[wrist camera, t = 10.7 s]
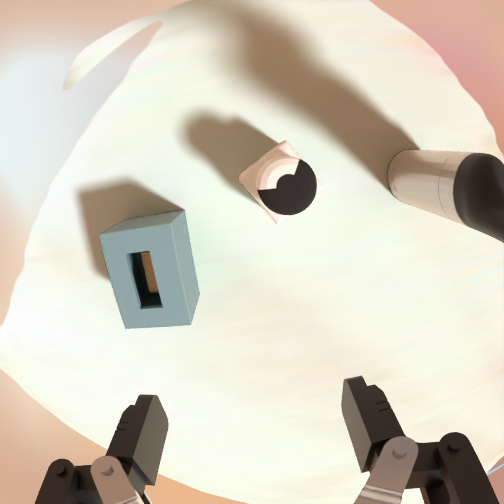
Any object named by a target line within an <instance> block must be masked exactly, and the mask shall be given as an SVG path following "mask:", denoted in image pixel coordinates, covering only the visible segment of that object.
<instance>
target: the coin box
mask: <svg viewBox="0 0 504 504" xmlns="http://www.w3.org/2000/svg"><path fill="white" fill-rule="evenodd" d="M99 237H100V241H101V246H102V250H103V254H104V258H105V262H106V266H107V270H108V274H109V277H110V281H111V284H112V288H113V291H114V295H115V298H116V301H117V305H118V308H119V311H120V314H121V317H122V320H123V323H124V326H125V329H130V328H151V327H168V326H183V325H191V323H192V319H193V316H194V312H195V309H196V305H197V302H198V298H199V295H200V293H199V288H198V283H197V277H196V272H195V267H194V261H193V256H192V250H191V244H190V239H189V233H188V227H187V221H186V214H185V210H181V211H174V212H167V213H161V214H154V215H148V216H142V217H136V218H130V219H125V220H123V221H122V222H120V223H118V224H116V225H115V226H113V227H111V228H110V229H108V230H106V231H104V232H103V233H101V234H99ZM143 251H150V256H151V260H152V265H153V269H154V273H155V278H156V282H157V286H158V290H159V292H151V293H150V292H149V288H148V283H147V279H146V275H145V270H144V266H143V261H142V256H141V252H143Z"/></svg>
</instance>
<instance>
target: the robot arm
mask: <svg viewBox="0 0 504 504" xmlns="http://www.w3.org/2000/svg"><path fill="white" fill-rule="evenodd" d="M388 184H389V187H390V190H391V192H392V194H393V195H394V196H395V197H396V198H397V199H398V200H399V201H401V202H403V203H405V204H408V205H411V206H414V207H417V208H420V209H422V210H425V211H428V212H431V213H434V214H437V215H439V216H442V217H445V218H447V219H450V220H453V221H455V222H458V223H461V224H463V225H466V226H468V227H470V228H473V229H476V230H478V231H480V232H482V233H485V234H487V235H489V236H492V237H494V238H496V239H498V240H500V241H502V242H503V243H504V164H503V163H502V162H501V161H500V160H499V159H498V158H497V157H495V156H493V155H490V154H485V153H472V152H454V151H430V150H405V151H402V152H400V153H398V154H397V155H396V156H395V157H394V158H393V159H392V161H391V163H390V165H389V169H388ZM341 405H342V413H343V417H344V420H345V423H346V426H347V429H348V432H349V435H350V438H351V441H352V444H353V447H354V450H355V454H356V457H357V460H358V463H359V466H360V469H361V473H363V472H367V471H369V472H370V476H369V478H368V480H367V482H366V484H365V486H364V488H363V489H362V490H361V492H360V494H359V496H358V497H357V499H356V501H355V503H354V504H400V503H401V500H402V494H403V492H404V489H412V488H420V490H421V493H422V497H423V500H424V503H425V504H499V502H498V499H497V497H496V495H495V493H494V490H493V488H492V486H491V484H490V481H489V479H488V477H487V475H486V473H485V471H484V469H483V467H482V465H481V463H480V461H479V459H478V457H477V455H476V453H475V451H474V449H473V447H472V445H471V443H470V441H469V439H468V438H467V437H466V436H465V435H464V434H462V433H458V432H452V433H448V434H446V435H445V436H443V437H442V438H441V440H440V441H439V442H430V443H417V442H415V441H414V440H412V439H411V438H408V437H406V436H405V434H404V432H403V430H402V428H401V426H400V424H399V422H398V420H397V418H396V416H395V414H394V412H393V410H392V409H391V406H390V404H389V402H388V401H387V398H386V396H385V394H384V392H383V391H382V390H381V389H380V388H378V387H377V386H376V385H375V384H374V385H370V386H367V385H366V383H365V381H364V379H363V377H362V376H357V377H353V378H348V379H344V383H343V393H342V403H341ZM119 422H120V423H118V426H117V430H116V431H115V433H114V436H113V438H112V441H111V443H110V446H109V448H108V451H107V453H106V455H105V456H103V457H100V458H98V459H96V460H95V461H94V462H93V464H92V465H84V466H74V465H73V464H72V463H71V462H70V461H69V460H66V459H58V460H56V461H54V462H53V463H51V465H50V466H49V468H48V471H47V474H46V476H45V478H44V481H43V483H42V486H41V488H40V491H39V494H38V496H37V499H36V502H35V504H152V502H151V501H150V499H149V498H148V496H147V494H146V493H145V491H144V490H145V486H146V485H153V486H154V485H155V481H156V477H157V473H158V468H159V464H160V460H161V456H162V452H163V447H164V443H165V439H166V435H167V431H168V418H167V416H166V413H165V411H164V409H163V407H162V405H161V402H160V400H159V398H158V396H157V395H139V396H138V399H137V401H136V404H135V405H130V406H129V407H128V408H127V409H126V410H125V411H124V412H123V414H122V416H121V418H120V421H119Z"/></svg>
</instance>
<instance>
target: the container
mask: <svg viewBox="0 0 504 504" xmlns="http://www.w3.org/2000/svg"><path fill="white" fill-rule="evenodd" d="M239 181H240V182H241V183H242V184H243V185H244V187H245V188H246V189H247V190H248V191H249V192H250V194H251V195H252V196H253V197H254V198H255V199H256V201H257V202H258V203H259V204H260V205H261V206H262V208H263V209H264V210H265V211H266V212H267V213H268V215H269V216H270V217H271V218H272V219H273V221H274V222H275V223H276V224H279V223H281V222H282V221H283V220H284V219H285V218H287V217H288V216H289V215H294V214H298V213H300V212H302V211H303V210H305V209H306V208H307V207H308V206H309V205H310V204H311V203H312V201H313V200H314V197H315V195H316V193H317V192H319V191H320V190H321V189H322V188H323V186H322V184H321V183H320V181H319V180H318V179H317V177H316V176H315V174H314V172H313V170H312V168H311V167H310V166H309V165H308V164H307V163H306V162H304V161H303V160H302V158H301V157H300V156H299V155H298V153H297V152H296V151H295V150H294V148H293V147H292V146H291V145H290V144H289V142H288V141H283V142H281V143H278V144H276V145H275V146H274V147H273V148H271V149H270V150H269V151H268V152H266V153H265V154H264V155H263V156H261V157H260V158H259V159H258V160H257V161H255V162H254V163H253V164H252V165H250V166H249V167H248V168H247V169H246V170H244V171H243V172H242V173H241V174H240V175H239Z"/></svg>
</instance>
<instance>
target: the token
mask: <svg viewBox="0 0 504 504" xmlns="http://www.w3.org/2000/svg"><path fill="white" fill-rule="evenodd" d="M141 256H142V261H143V266H144V270H145V275H146V279H147V283H148V288H149V292H150V293H151V292H159V290H158V286H157V282H156V278H155V273H154V269H153V265H152V260H151V256H150V251H143V252H141Z"/></svg>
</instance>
